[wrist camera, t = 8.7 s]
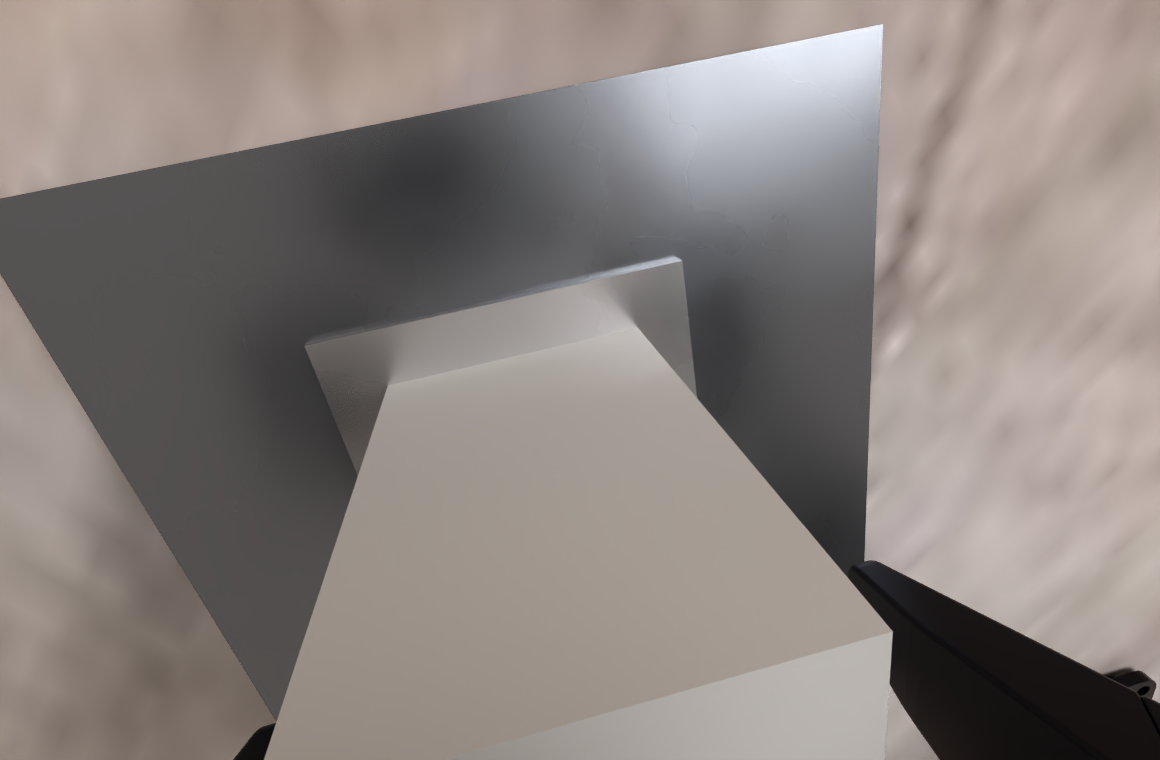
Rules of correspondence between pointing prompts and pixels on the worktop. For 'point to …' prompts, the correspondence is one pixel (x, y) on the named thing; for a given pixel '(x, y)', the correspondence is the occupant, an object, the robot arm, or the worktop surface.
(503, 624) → the light grey block
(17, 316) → the worktop surface
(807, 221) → the duct plate
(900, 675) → the robot arm
